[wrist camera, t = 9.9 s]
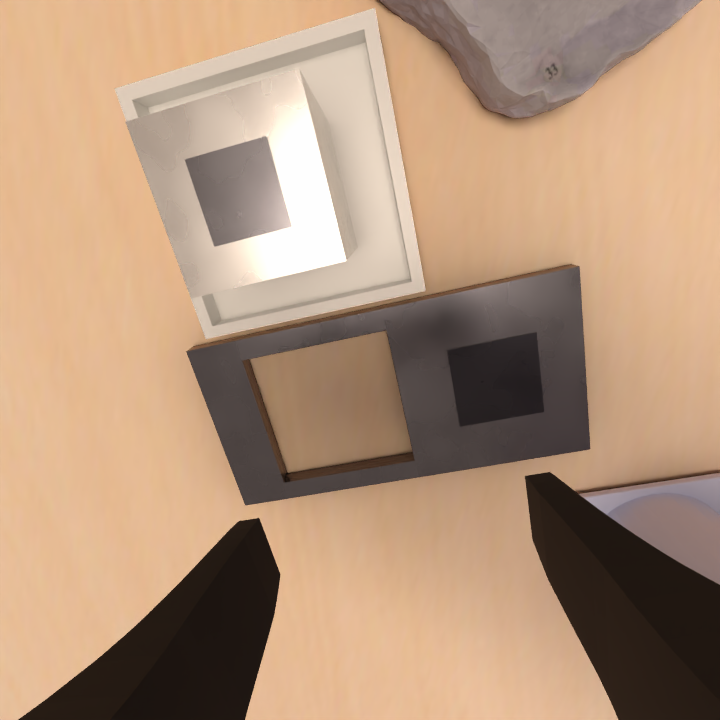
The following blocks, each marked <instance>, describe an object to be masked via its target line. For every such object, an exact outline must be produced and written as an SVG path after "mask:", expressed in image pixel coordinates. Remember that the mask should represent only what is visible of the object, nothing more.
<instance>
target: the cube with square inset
mask: <svg viewBox="0 0 720 720" xmlns="http://www.w3.org/2000/svg"><path fill="white" fill-rule="evenodd" d="M126 124H127V127H128V130H129V133H130V135H131V138H132V141H133V143H134V146H135V149H136V151H137V154H138V157H139V159H140V162H141V165H142V167H143V170H144V173H145V176H146V178H147V181H148V184H149V186H150V189H151V192H152V194H153V197H154V200H155V202H156V205H157V208H158V210H159V213H160V216H161V219H162V221H163V224H164V227H165V229H166V232H167V235H168V237H169V240H170V243H171V245H172V248H173V251H174V253H175V256H176V259H177V262H178V264H179V267H180V270H181V272H182V275H183V278H184V280H185V283H186V286H187V288H188V291H189V294H190V296H191V298H195V297H199V296H204V295H208V294H212V293H216V292H220V291H224V290H228V289H232V288H237V287H241V286H245V285H249V284H253V283H257V282H261V281H265V280H270V279H274V278H278V277H282V276H286V275H290V274H294V273H298V272H303V271H307V270H311V269H315V268H319V267H323V266H327V265H331V264H336V263H340V262H344V261H347V259H348V258H349V257H350V256H351V255H352V254H353V253H354V252H355V250H356V249H357V248H358V247H357V242H356V238H355V234H354V229H353V225H352V221H351V217H350V212H349V208H348V204H347V199H346V195H345V191H344V186H343V182H342V178H341V174H340V169H339V165H338V161H337V156H336V152H335V148H334V144H333V139H332V135H331V131H330V126H329V122H328V120H327V118H326V116H325V114H324V113H323V111H322V109H321V107H320V105H319V104H318V102H317V100H316V98H315V96H314V94H313V93H312V91H311V89H310V87H309V85H308V83H307V82H306V80H305V78H304V76H303V74H302V73H301V71H300V69H299V68H298V69H295V70H292V71H288V72H285V73H282V74H279V75H275V76H272V77H269V78H266V79H262V80H259V81H256V82H253V83H249V84H246V85H243V86H240V87H236V88H233V89H230V90H227V91H223V92H220V93H217V94H214V95H210V96H207V97H204V98H201V99H198V100H194V101H191V102H188V103H185V104H181V105H178V106H175V107H172V108H168V109H165V110H162V111H159V112H155V113H152V114H149V115H146V116H142V117H139V118H136V119H133V120H129V121H126Z"/></svg>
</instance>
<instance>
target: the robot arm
mask: <svg viewBox="0 0 720 720" xmlns="http://www.w3.org/2000/svg"><path fill="white" fill-rule="evenodd" d="M525 480H526V488H527V497H528V505H529V513H530V522H531V530H532V538H533V542H534V544H535V547H536V550H537V552H538V555H539V557H540V560H541V563H542V565H543V568H544V570H545V573H546V575H547V578H548V580H549V582H550V584H551V586H552V588H553V590H554V592H555V594H556V595H557V597H558V599H559V601H560V603H561V605H562V607H563V609H564V611H565V613H566V615H567V617H568V619H569V621H570V622H571V624H572V626H573V628H574V630H575V632H576V634H577V636H578V638H579V640H580V642H581V643H582V645H583V647H584V649H585V651H586V653H587V655H588V657H589V659H590V661H591V663H592V664H593V666H594V668H595V670H596V672H597V674H598V676H599V678H600V680H601V682H602V684H603V686H604V688H605V690H606V692H607V695H608V697H609V699H610V701H611V703H612V705H613V708H614V710H615V712H616V715H617V717H618V719H619V720H720V473H715V474H708V475H702V476H695V477H688V478H682V479H675V480H668V481H662V482H655V483H649V484H642V485H635V486H629V487H622V488H615V489H609V490H602V491H595V492H589V493H582V494H578V493H577V492H575V491H574V490H573V489H571V488H570V487H569V486H568V485H566V484H565V483H564V482H562V481H561V480H560V479H558V478H557V477H556V476H555V475H553V474H552V473H550V472H548V473H541V474H535V475H529V476H525ZM279 581H280V572H279V570H278V567H277V564H276V562H275V559H274V556H273V554H272V551H271V548H270V546H269V543H268V540H267V538H266V535H265V532H264V530H263V527H262V524H261V522H260V519H259V518H257V519H250V520H244V521H239V522H237V523H236V524H235V525H234V526H233V527H232V528H231V529H230V530H229V531H228V532H227V533H226V534H225V535H224V536H223V537H222V539H221V540H220V541H219V542H218V543H217V544H216V545H215V546H214V547H213V548H212V549H211V550H210V551H209V552H208V553H207V555H206V556H205V557H204V558H203V559H202V560H201V561H200V562H199V563H198V564H197V565H196V566H195V567H194V568H193V569H192V570H191V571H190V572H189V574H188V575H187V576H186V577H185V578H184V579H183V580H182V581H181V582H180V583H179V584H178V585H177V586H176V587H175V588H174V589H173V590H172V591H171V592H170V593H169V594H168V595H167V596H166V597H165V598H164V599H163V600H162V601H161V602H160V603H159V604H158V605H157V606H156V607H155V608H154V609H153V610H152V611H151V612H150V613H149V614H148V615H147V616H146V617H145V618H143V619H142V620H141V621H140V622H139V623H138V624H137V625H136V626H135V627H134V628H133V629H132V630H130V631H129V632H128V633H127V634H126V635H125V636H124V637H123V638H121V639H120V640H119V641H118V642H117V643H116V644H115V645H113V646H112V647H111V648H110V649H109V650H108V651H106V652H105V653H104V654H103V655H102V656H101V657H99V658H98V659H97V660H96V661H95V662H93V663H92V664H91V665H90V666H88V667H87V668H86V669H84V670H83V671H82V672H81V673H79V674H78V675H77V676H76V677H74V678H73V679H72V680H70V681H69V682H68V683H67V684H65V685H64V686H63V687H61V688H60V689H59V690H58V691H56V692H55V693H54V694H53V695H51V696H50V697H49V698H47V699H46V700H45V701H43V702H42V703H41V704H39V705H38V706H37V707H35V708H34V709H32V710H31V711H30V712H28V713H27V714H26V715H24V716H23V717H21V718H20V719H19V720H245V717H246V713H247V710H248V706H249V702H250V699H251V695H252V692H253V688H254V685H255V681H256V678H257V674H258V671H259V667H260V664H261V660H262V657H263V653H264V650H265V646H266V643H267V639H268V635H269V632H270V628H271V625H272V621H273V617H274V613H275V607H276V601H277V595H278V588H279Z"/></svg>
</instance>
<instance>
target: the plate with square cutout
mask: <svg viewBox="0 0 720 720" xmlns="http://www.w3.org/2000/svg"><path fill="white" fill-rule="evenodd" d="M385 330H387V335H388V340H389V344H390V349H391V353H392V358H393V363H394V367H395V372H396V376H397V381H398V386H399V390H400V395H401V400H402V404H403V409H404V413H405V418H406V423H407V427H408V432H409V436H410V441H411V446H412V450H413V452H412V453H406V454H401V455H395V456H389V457H383V458H377V459H371V460H365V461H360V462H354V463H348V464H342V465H336V466H330V467H324V468H319V469H313V470H307V471H301V472H295V473H289V474H287V472H286V469H285V466H284V463H283V460H282V457H281V454H280V451H279V448H278V445H277V442H276V439H275V436H274V433H273V430H272V427H271V424H270V421H269V418H268V415H267V412H266V409H265V406H264V403H263V400H262V397H261V394H260V391H259V388H258V385H257V382H256V379H255V376H254V373H253V370H252V367H251V364H250V361H249V359H252V358H257V357H261V356H266V355H271V354H276V353H280V352H285V351H290V350H295V349H299V348H304V347H309V346H314V345H319V344H323V343H328V342H333V341H338V340H342V339H347V338H352V337H357V336H361V335H366V334H371V333H376V332H380V331H385ZM186 352H187V355H188V357H189V360H190V362H191V365H192V368H193V370H194V373H195V375H196V378H197V381H198V383H199V386H200V388H201V391H202V394H203V396H204V399H205V401H206V404H207V407H208V409H209V412H210V414H211V417H212V420H213V422H214V425H215V427H216V430H217V433H218V435H219V438H220V440H221V443H222V446H223V448H224V451H225V454H226V456H227V459H228V461H229V464H230V467H231V469H232V472H233V474H234V477H235V480H236V482H237V485H238V487H239V490H240V493H241V495H242V498H243V500H244V503H245V505H251V504H257V503H263V502H269V501H276V500H282V499H288V498H294V497H300V496H306V495H312V494H319V493H325V492H331V491H337V490H343V489H349V488H355V487H362V486H368V485H374V484H380V483H386V482H392V481H398V480H405V479H411V478H417V477H423V476H429V475H435V474H441V473H448V472H454V471H460V470H466V469H472V468H478V467H484V466H491V465H497V464H503V463H509V462H515V461H521V460H527V459H534V458H540V457H546V456H552V455H558V454H564V453H570V452H577V451H583V450H589V449H590V436H589V419H588V402H587V386H586V369H585V352H584V335H583V318H582V301H581V284H580V267H579V266H576V265H572V264H570V265H566V266H561V267H556V268H552V269H547V270H543V271H538V272H534V273H529V274H524V275H520V276H515V277H511V278H506V279H501V280H497V281H492V282H488V283H483V284H478V285H474V286H469V287H465V288H460V289H455V290H451V291H446V292H442V293H437V294H432V295H428V296H423V297H419V298H414V299H409V300H405V301H400V302H396V303H391V304H386V305H382V306H377V307H373V308H368V309H364V310H359V311H354V312H350V313H345V314H341V315H336V316H331V317H327V318H322V319H318V320H313V321H308V322H304V323H299V324H295V325H290V326H285V327H281V328H276V329H272V330H267V331H262V332H258V333H253V334H249V335H244V336H239V337H235V338H230V339H226V340H221V341H216V342H212V343H207V344H203V345H198V346H194V347H192V348H191V349H189V350H188V351H186Z"/></svg>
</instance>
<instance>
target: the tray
mask: <svg viewBox="0 0 720 720" xmlns="http://www.w3.org/2000/svg"><path fill="white" fill-rule="evenodd" d="M298 68H299V69H300V71H301V73H302V74H303V76H304V78H305V80H306V82H307V83H308V85H309V87H310V89H311V91H312V93H313V94H314V96H315V98H316V100H317V102H318V104H319V105H320V107H321V109H322V111H323V113H324V114H325V116H326V118H327V120H328V122H329V126H330V131H331V135H332V139H333V144H334V148H335V152H336V156H337V161H338V165H339V169H340V174H341V178H342V182H343V186H344V191H345V195H346V199H347V204H348V208H349V212H350V217H351V221H352V225H353V229H354V234H355V238H356V242H357V247H358V248H357V249H356V250H355V252H354V253H353V254H352V255H351V256H350V257H349V258H348V259H347V261H344V262H340V263H336V264H331V265H327V266H323V267H319V268H315V269H311V270H307V271H303V272H298V273H294V274H290V275H286V276H282V277H278V278H274V279H270V280H265V281H261V282H257V283H253V284H249V285H245V286H241V287H237V288H232V289H228V290H224V291H220V292H216V293H212V294H208V295H204V296H199V297H195V298H191V300H192V303H193V305H194V308H195V311H196V314H197V316H198V319H199V322H200V325H201V327H202V330H203V333H204V336H205V338H206V339H209V338H214V337H218V336H223V335H227V334H232V333H237V332H241V331H246V330H250V329H255V328H259V327H264V326H268V325H273V324H278V323H282V322H287V321H291V320H296V319H300V318H305V317H310V316H314V315H319V314H323V313H328V312H332V311H337V310H341V309H346V308H351V307H355V306H360V305H364V304H369V303H373V302H378V301H383V300H387V299H392V298H396V297H401V296H405V295H410V294H414V293H419V292H424V291H426V289H425V283H424V278H423V272H422V266H421V261H420V255H419V250H418V244H417V239H416V233H415V227H414V222H413V216H412V211H411V205H410V200H409V194H408V188H407V183H406V177H405V172H404V166H403V161H402V155H401V150H400V144H399V138H398V133H397V127H396V122H395V116H394V111H393V105H392V99H391V94H390V88H389V83H388V77H387V72H386V66H385V60H384V55H383V49H382V44H381V38H380V33H379V27H378V21H377V16H376V10H375V8H373V9H370V10H366V11H363V12H360V13H357V14H354V15H350V16H347V17H344V18H341V19H337V20H334V21H331V22H328V23H324V24H321V25H318V26H315V27H312V28H308V29H305V30H302V31H299V32H295V33H292V34H289V35H286V36H283V37H279V38H276V39H273V40H270V41H266V42H263V43H260V44H257V45H254V46H250V47H247V48H244V49H241V50H237V51H234V52H231V53H228V54H225V55H221V56H218V57H215V58H212V59H208V60H205V61H202V62H199V63H195V64H192V65H189V66H186V67H183V68H179V69H176V70H173V71H170V72H166V73H163V74H160V75H157V76H154V77H150V78H147V79H144V80H141V81H137V82H134V83H131V84H128V85H125V86H121V87H118V88H115V91H116V94H117V97H118V99H119V102H120V105H121V108H122V110H123V113H124V116H125V119H126V121H129V120H133V119H136V118H139V117H142V116H146V115H149V114H152V113H155V112H159V111H162V110H165V109H168V108H172V107H175V106H178V105H181V104H185V103H188V102H191V101H194V100H198V99H201V98H204V97H207V96H210V95H214V94H217V93H220V92H223V91H227V90H230V89H233V88H236V87H240V86H243V85H246V84H249V83H253V82H256V81H259V80H262V79H266V78H269V77H272V76H275V75H279V74H282V73H285V72H288V71H292V70H295V69H298ZM184 281H185V280H184ZM187 289H188V288H187ZM188 292H189V291H188ZM190 297H191V296H190Z"/></svg>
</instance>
